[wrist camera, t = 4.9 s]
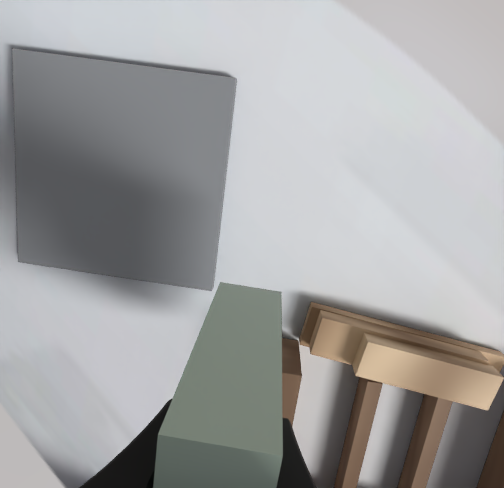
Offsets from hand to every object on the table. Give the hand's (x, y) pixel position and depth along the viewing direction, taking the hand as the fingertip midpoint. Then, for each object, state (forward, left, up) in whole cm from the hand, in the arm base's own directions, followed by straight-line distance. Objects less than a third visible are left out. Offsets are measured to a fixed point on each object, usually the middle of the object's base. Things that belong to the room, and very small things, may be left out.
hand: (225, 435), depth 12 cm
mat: (-8, +6, -10) cm, 14 cm away
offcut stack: (+9, -1, -11) cm, 14 cm away
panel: (0, 0, -4) cm, 4 cm away
